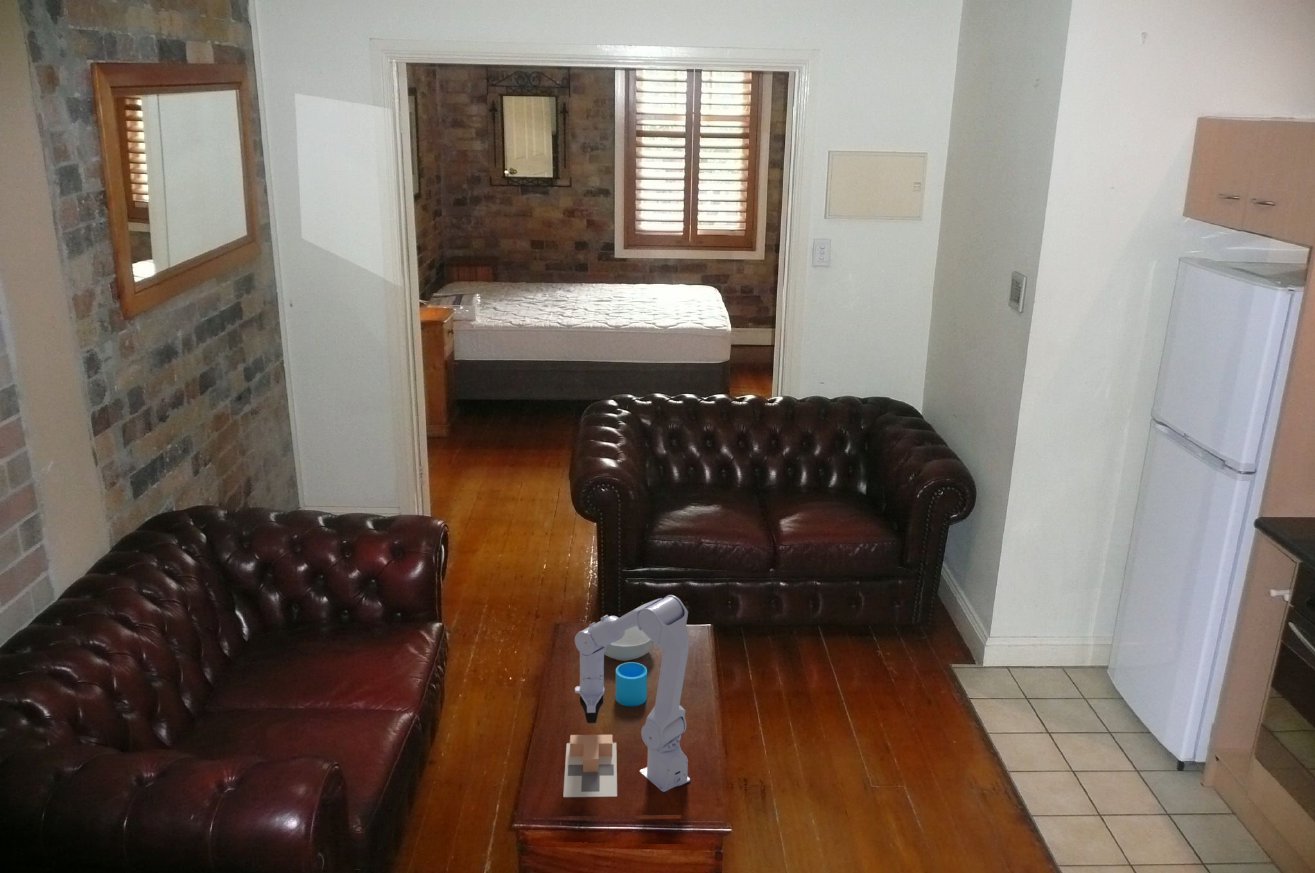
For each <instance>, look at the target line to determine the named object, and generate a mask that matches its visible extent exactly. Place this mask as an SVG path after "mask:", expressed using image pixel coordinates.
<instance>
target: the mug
mask: <svg viewBox="0 0 1315 873" xmlns="http://www.w3.org/2000/svg"><path fill="white" fill-rule="evenodd" d="M647 682H648V669H647V667H646V666H645V665H644V664H641V663H639V662H633V661H632V662H631V661H630V662H629V661H628V662H624V663H621V664H619V665H617V667H616V668H615V701H616V703H618V704H619V705H622V706H625V707H637V706H638V707H639V706H641V705H643V704H645V703H646V700H647V692H648V691H647V690H648V688H647V686H648V685H647V684H648V683H647Z"/></svg>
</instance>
